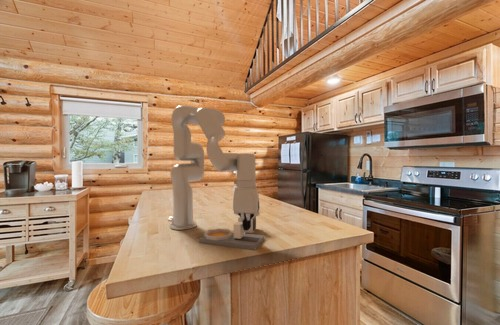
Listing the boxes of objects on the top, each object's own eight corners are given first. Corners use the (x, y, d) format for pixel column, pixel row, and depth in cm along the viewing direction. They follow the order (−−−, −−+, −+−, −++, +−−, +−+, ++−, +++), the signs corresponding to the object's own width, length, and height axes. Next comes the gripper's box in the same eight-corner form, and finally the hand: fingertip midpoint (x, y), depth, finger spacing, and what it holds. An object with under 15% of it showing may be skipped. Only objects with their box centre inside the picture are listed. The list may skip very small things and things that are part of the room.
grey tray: (199, 242, 96) (199, 235, 96) (213, 233, 108) (213, 227, 108) (254, 249, 88) (254, 242, 88) (264, 239, 99) (264, 232, 99)
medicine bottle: (253, 233, 107) (253, 207, 107) (238, 232, 109) (237, 206, 109) (256, 228, 114) (255, 203, 114) (241, 227, 116) (241, 203, 116)
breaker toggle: (233, 237, 95) (233, 224, 95) (237, 234, 99) (237, 221, 99) (240, 238, 94) (240, 225, 94) (244, 235, 98) (244, 222, 98)
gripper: (225, 184, 94) (225, 230, 95) (261, 185, 89) (261, 234, 89) (233, 182, 101) (233, 225, 102) (266, 183, 96) (267, 228, 96)
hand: (246, 229), depth 96 cm, fingers closed
